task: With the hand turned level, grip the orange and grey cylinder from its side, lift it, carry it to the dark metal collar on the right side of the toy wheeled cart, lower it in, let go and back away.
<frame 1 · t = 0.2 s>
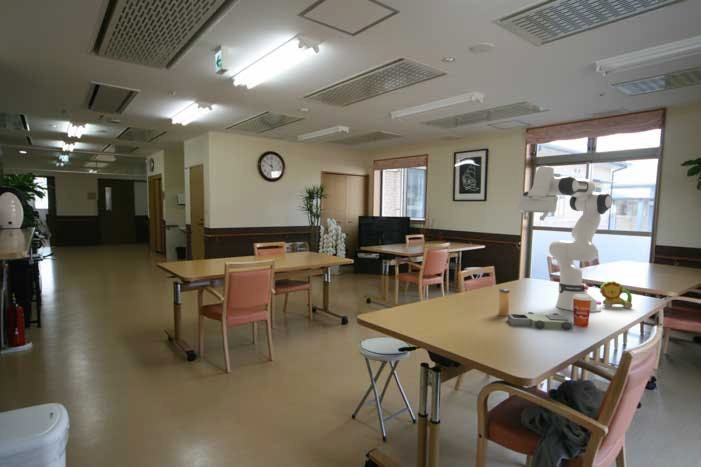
hand: (533, 219, 203), 52 cm above the table, tool tilted 20°, fingers open, 8 cm apart
toy lion: (614, 307, 229), on the table
orange and grey cylinder: (503, 315, 209), on the table
toy wheeled cart: (547, 324, 192), on the table
bracket: (589, 302, 241), on the table
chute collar: (519, 323, 194), on the table
coffee cup: (580, 325, 192), on the table
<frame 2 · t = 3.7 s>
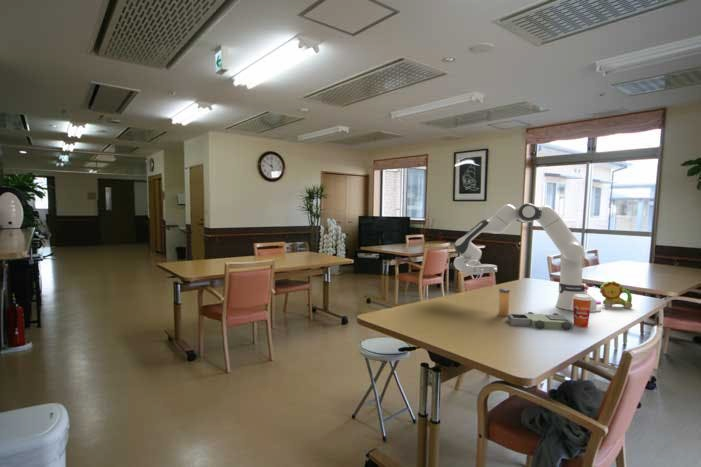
hand: (489, 270, 218), 22 cm above the table, tool horizontal, fingers open, 8 cm apart
nothing on the table moved.
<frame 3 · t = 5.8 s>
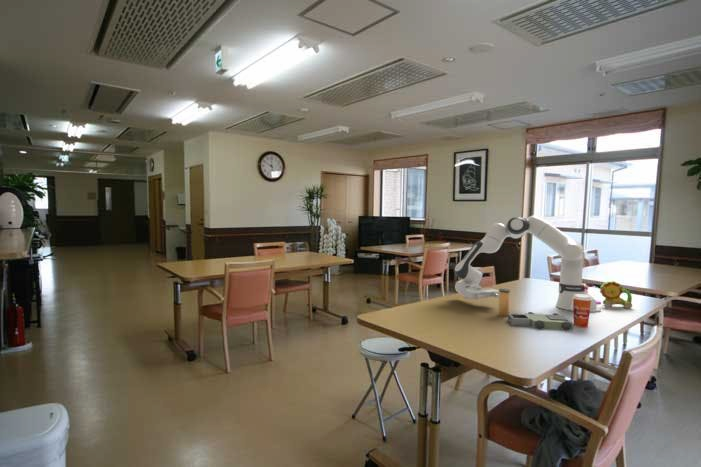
hand: (491, 296, 217), 8 cm above the table, tool horizontal, fingers open, 8 cm apart
nothing on the table moved.
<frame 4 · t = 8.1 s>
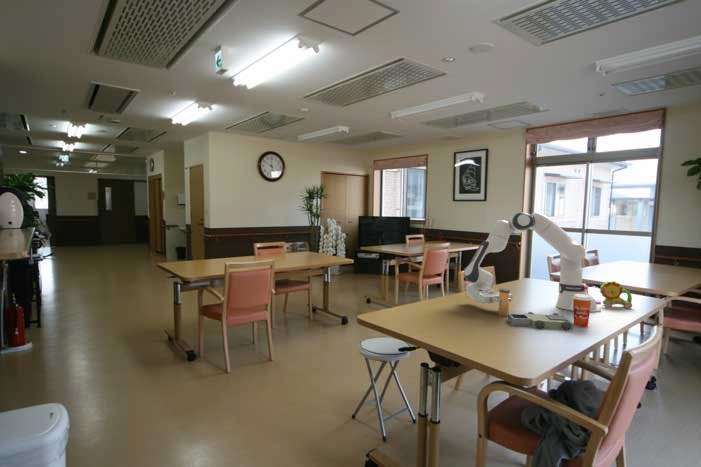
hand: (505, 300, 208), 8 cm above the table, tool horizontal, fingers closed on orange and grey cylinder, 5 cm apart
orange and grey cylinder: (503, 315, 209), on the table, touching gripper
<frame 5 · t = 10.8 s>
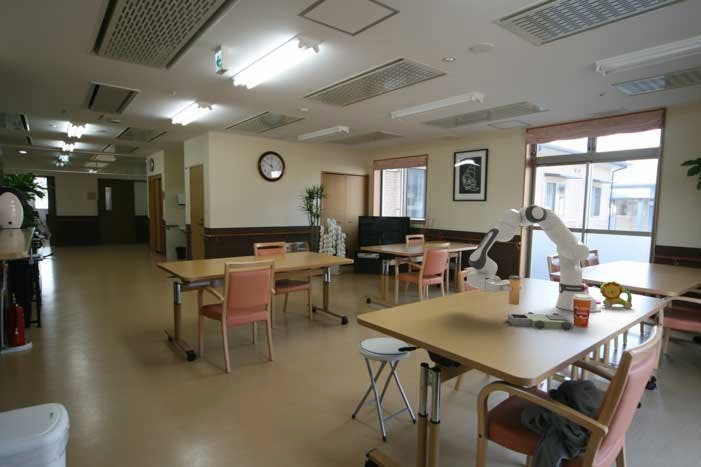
hand: (516, 288, 197), 17 cm above the table, tool horizontal, fingers closed on orange and grey cylinder, 5 cm apart
orange and grey cylinder: (513, 303, 198), point 9 cm above the table, touching gripper
when the fingers open (9 cm above the table, at t = 13.5 s): orange and grey cylinder drops 1 cm, resting in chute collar.
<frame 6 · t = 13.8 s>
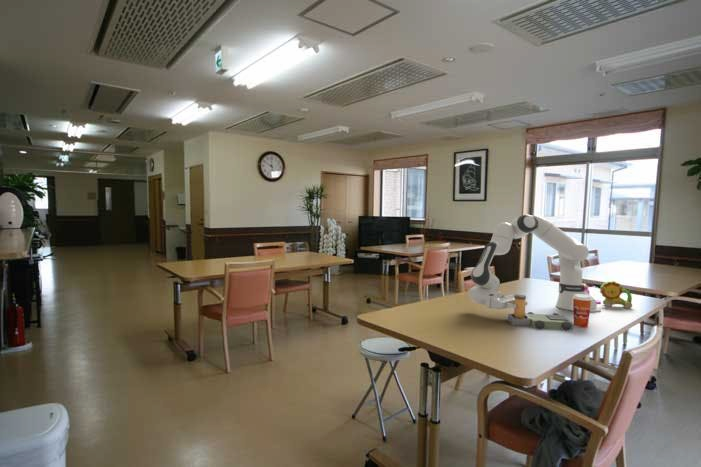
hand: (521, 305, 193), 9 cm above the table, tool horizontal, fingers open, 8 cm apart
orange and grey cylinder: (519, 323, 194), resting in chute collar
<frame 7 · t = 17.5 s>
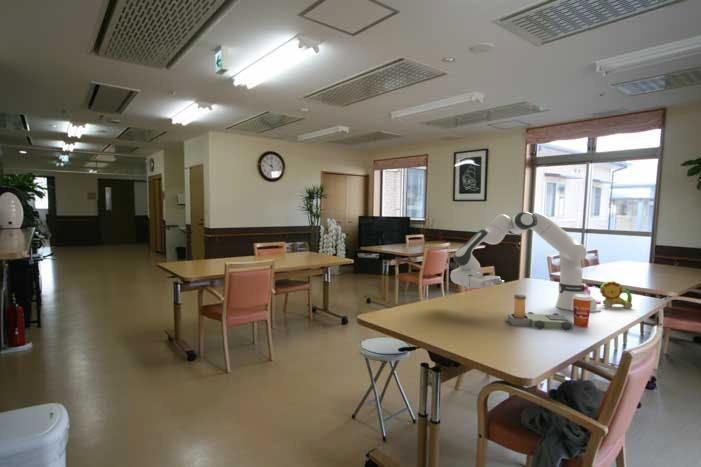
hand: (498, 283, 203), 18 cm above the table, tool horizontal, fingers open, 8 cm apart
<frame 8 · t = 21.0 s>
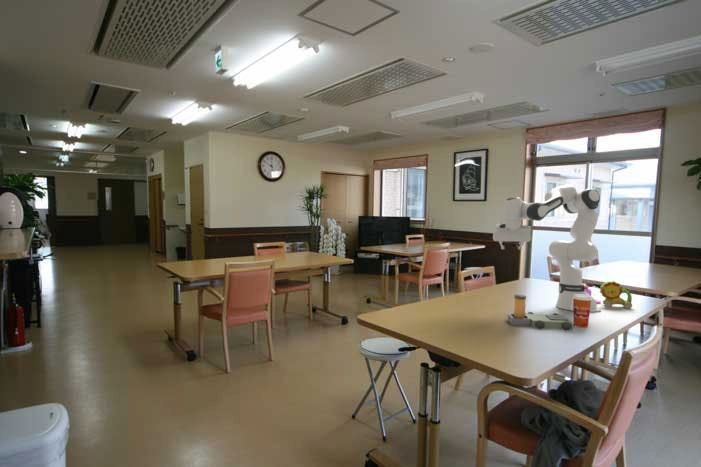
hand: (511, 249, 223), 34 cm above the table, tool pointing down, fingers open, 8 cm apart
at the end: orange and grey cylinder 0.1 cm off-centre on the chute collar, point 0.0 cm above the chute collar's base; orange and grey cylinder tilted 0°; the gripper is holding nothing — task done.
